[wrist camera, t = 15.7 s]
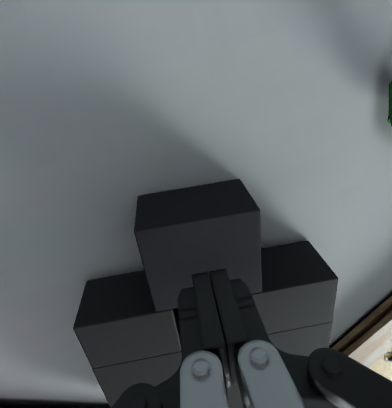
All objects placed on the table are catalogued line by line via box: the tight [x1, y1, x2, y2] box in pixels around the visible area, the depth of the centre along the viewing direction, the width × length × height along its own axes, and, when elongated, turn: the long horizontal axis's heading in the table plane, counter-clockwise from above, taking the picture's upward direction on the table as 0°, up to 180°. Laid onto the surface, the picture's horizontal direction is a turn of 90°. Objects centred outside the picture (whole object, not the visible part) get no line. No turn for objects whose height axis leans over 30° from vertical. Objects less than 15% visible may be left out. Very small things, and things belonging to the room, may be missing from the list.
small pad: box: [134, 179, 262, 311], centre depth 16 cm, size 6×8×4 cm
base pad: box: [73, 241, 338, 408], centre depth 20 cm, size 14×12×4 cm
